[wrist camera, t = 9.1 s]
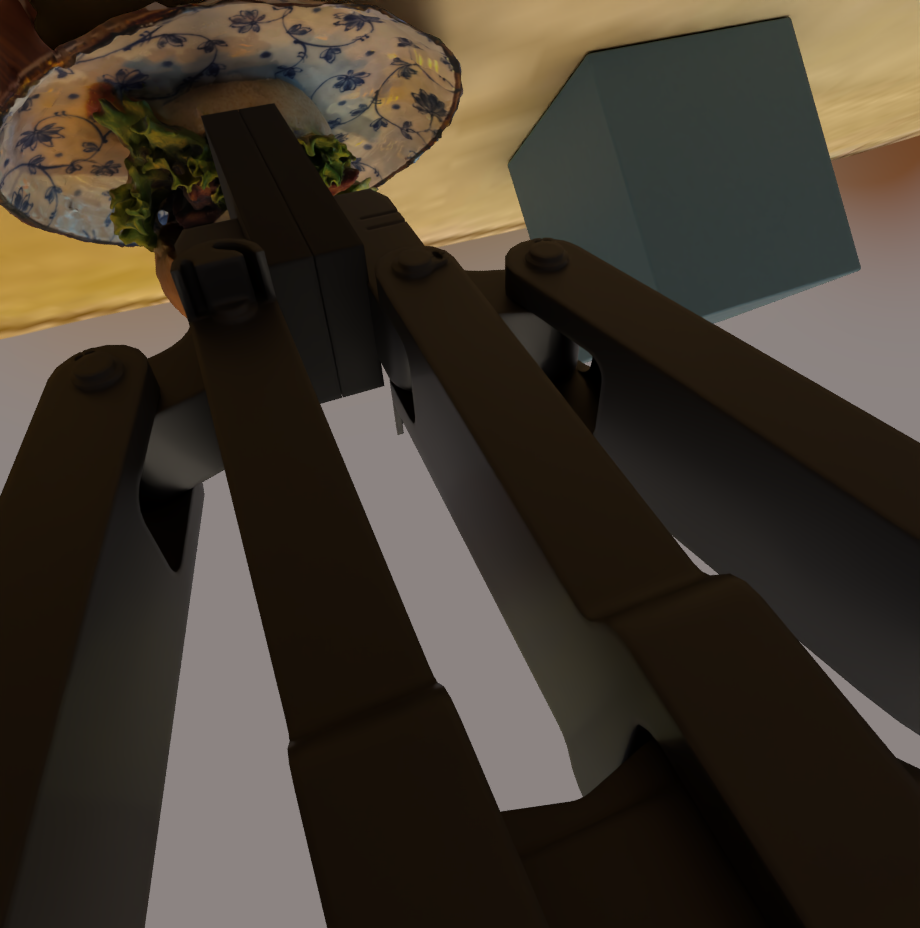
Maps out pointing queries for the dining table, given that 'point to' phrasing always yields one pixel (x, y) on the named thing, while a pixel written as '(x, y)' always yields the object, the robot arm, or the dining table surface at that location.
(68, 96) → the burger
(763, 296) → the slate block
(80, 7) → the dining table surface
